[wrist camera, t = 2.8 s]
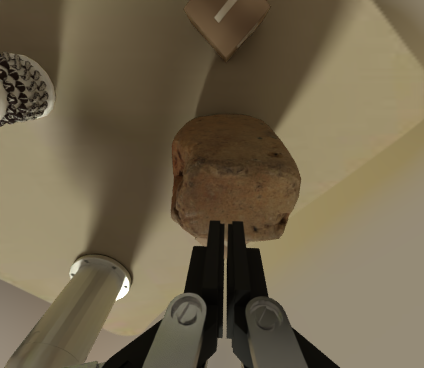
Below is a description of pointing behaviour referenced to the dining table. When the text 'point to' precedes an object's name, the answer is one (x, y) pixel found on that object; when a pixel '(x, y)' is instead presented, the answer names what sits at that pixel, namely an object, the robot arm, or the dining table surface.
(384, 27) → the dining table surface
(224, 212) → the block
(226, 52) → the walnut cube
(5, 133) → the dining table surface
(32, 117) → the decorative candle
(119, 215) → the dining table surface
